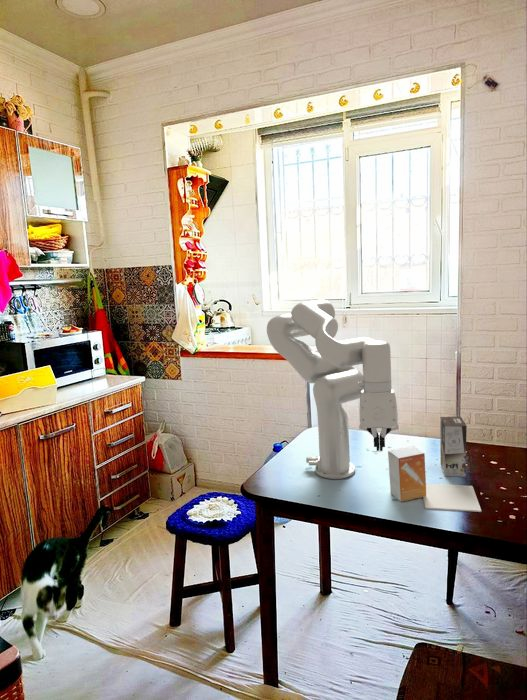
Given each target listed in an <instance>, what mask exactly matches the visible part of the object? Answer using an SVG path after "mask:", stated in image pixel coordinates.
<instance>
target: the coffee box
mask: <svg viewBox="0 0 527 700" xmlns="http://www.w3.org/2000/svg"><path fill="white" fill-rule="evenodd" d="M439 420H440V421H439V423H440V426H439V427H440V429H439V430H440V431H439V433H440V441H439V445H440V448H439V449H440V451H439V452H440V462H439V463H440V466H441V467H440V468H441V470H442V472H443V475H444V477H466V476H467V473H466V472H467V471H466V469H467V432H468V431H467V428H468V426H467V424H466V422H465V421H464V419H463V418H462V416H440V419H439Z"/></svg>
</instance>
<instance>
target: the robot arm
mask: <svg viewBox="0 0 527 700" xmlns="http://www.w3.org/2000/svg"><path fill="white" fill-rule="evenodd" d="M335 316H336V311H335V308H334V306H333V304H332V303H331V302H330V301H329V300H326V299H315V300H309V301H303V302H302V301H301V302H299V303H297V304H295V306H293V307H292V309H291V312H290V313H283V314H279V315H275V316H273V317H272V318H270V319H269V321H268V322H267V325H266V335H267V338H268V341H269V342H270V345H271V346H272V348H273V349H274V351H275V352H277V353H278V354H279V356H281V357H282V358H284V359H285V360H286V362H288V363H289V364H290V366H292V368H293V369H294V370H295V371H296V372H297V374H298V375H299V376H300V377H301V378H302V379H303V380H304V381H305V382H307V383H309V384H313V387H312V392H313V393H312V394H313V398H314V402H315V406H316V413H317V415H316V416H317V427H318V428H317V431H318V452H319V455H317V456H316V457H315V456H306V457H305V458H306V459H305V461H306V464H308V466H315V468H314V469H315V470H314V471H315V473H316V475H318V476H320V477H322V478H323V479H324V478H325V479H329V480H341V479H346V478H348V477H351V476H353V475H354V474H355V473H356V466H355V465H354V464H353V463H352V462H351V459H350V457H351V456H350V434H349V433H350V432H349V431H350V430H349V427H350V426H349V417H348V414H347V412H346V411H345V410H344V408H343V404H346V403H349V402H352V401H356V400H358V399H359V426H358V427H359V430H362V431H367V432H368V433H369V434H370V435H371V436H372V437H373V447H374V448H376V452H379V451H380V452H383V448H386V439H385V438H386V437H387V435H388V434H389V433H390V432H393V431H398V430H399V427H400V426H399V423H398V422H399V421H398V405H397V404H398V403H397V398H396V392H395V390H394V389H393V388H392V365H391V364H392V363H391V358H392V355H391V345H390V343H389V342H387V341H385V340H376V339H373V338H370V337H367V336H361V337H356V338H354V337H353V338H350V339H344V340H337V339H335V338H336V335H337V333H338V331H339V324H338V321H337V320H336V318H335ZM306 336H311V337H312V338H313V339H315V341H314V343H315V347H316V350H317V351H314V350H313V349H312V348H311V347H310V346H309V345H308V344H307V343H305V342H304V341H302V340H300V339H297V338H299V337H300V338H301V337H306ZM359 365H362V372H361V371H360V370H359V369H358V368H357V367H356V366H359ZM378 429H381V431H380V432H378ZM379 433H380V434H379Z"/></svg>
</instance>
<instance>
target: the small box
mask: <svg viewBox="0 0 527 700" xmlns="http://www.w3.org/2000/svg"><path fill="white" fill-rule="evenodd" d="M387 454H388V456H387V457H388V471H389V473H388V475H389V490H390V491H389V492H390V493H391V494H392V496H394V497H395V499H397V501H399V502H406V501H410V500H414V499H419V498H420V499H421V498H423V497H426V484H427V482H426V480H427V478H426V475H427V474H426V459H425V458H426V456H425V452H424V451H422V450H420V449H419V448H418V447H416V446H415V445H410V446H405V447H399V448H396V449H395V448H394V449H390V450H387Z"/></svg>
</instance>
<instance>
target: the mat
mask: <svg viewBox="0 0 527 700" xmlns="http://www.w3.org/2000/svg"><path fill="white" fill-rule="evenodd" d="M422 498H423V503H424V504H423V505H424V508H425V510H439V511H458V512H459V511H460V512H471V513H472V512H474V513H475V512H476V513H477V512H478V513H482V509H481V506H480V503H479V500H478V498H477V495H476V492H475V489H474V487H473V485H463V484H441V483H439V484H438V483H437V484H436V483H426V497H422Z"/></svg>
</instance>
